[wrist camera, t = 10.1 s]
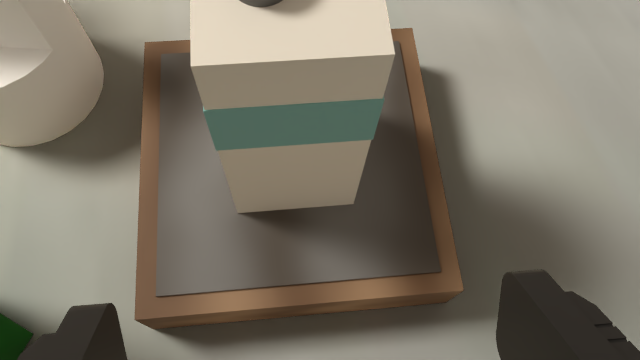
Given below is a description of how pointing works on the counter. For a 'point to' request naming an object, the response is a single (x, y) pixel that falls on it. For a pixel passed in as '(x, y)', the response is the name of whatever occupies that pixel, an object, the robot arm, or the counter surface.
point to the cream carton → (291, 95)
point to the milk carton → (12, 339)
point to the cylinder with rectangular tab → (44, 71)
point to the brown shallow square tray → (286, 215)
